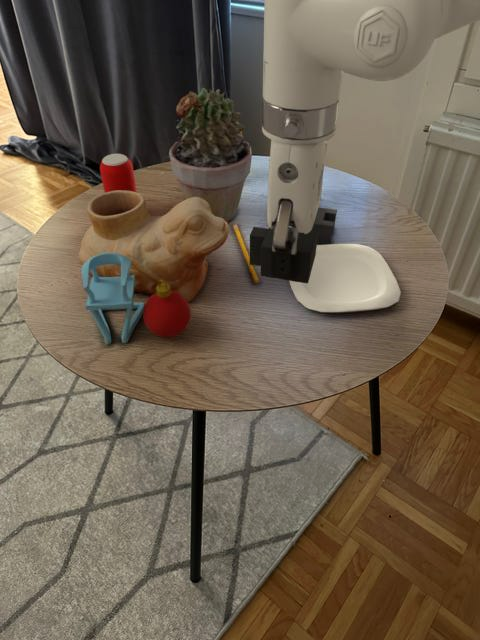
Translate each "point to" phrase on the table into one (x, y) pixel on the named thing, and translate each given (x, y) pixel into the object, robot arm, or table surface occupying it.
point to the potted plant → (211, 152)
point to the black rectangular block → (263, 244)
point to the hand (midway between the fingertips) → (289, 259)
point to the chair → (111, 293)
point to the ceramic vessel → (154, 241)
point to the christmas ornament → (166, 312)
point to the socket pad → (325, 225)
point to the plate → (347, 281)
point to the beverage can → (117, 173)
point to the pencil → (245, 253)
